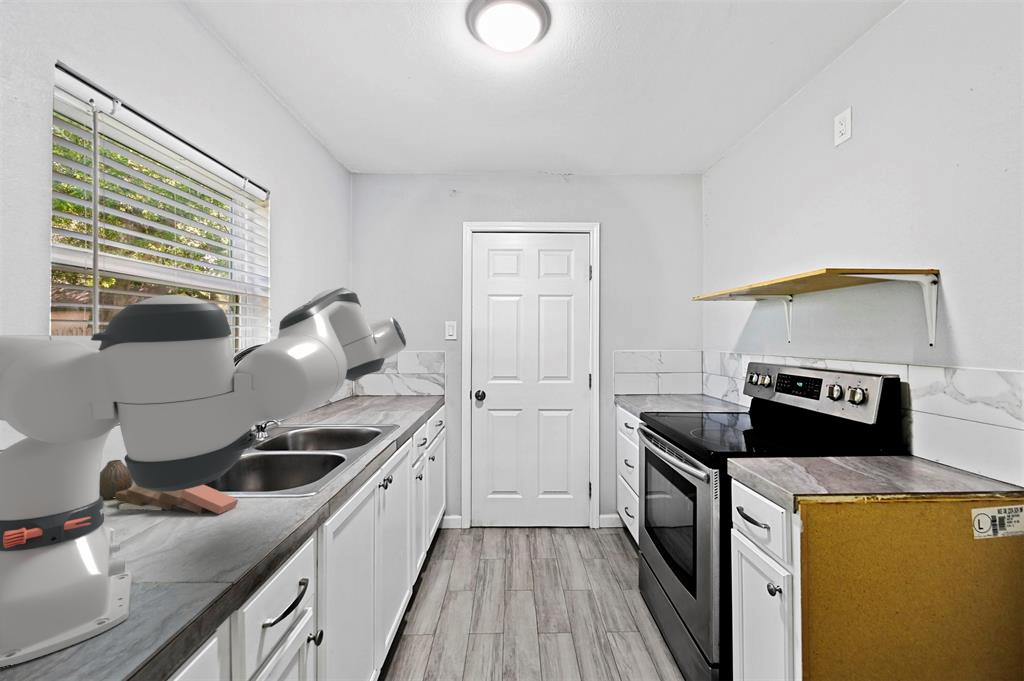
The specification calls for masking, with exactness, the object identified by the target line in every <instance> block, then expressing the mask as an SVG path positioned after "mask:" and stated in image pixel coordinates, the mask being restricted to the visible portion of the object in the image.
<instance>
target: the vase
mask: <svg viewBox="0 0 1024 681" xmlns="http://www.w3.org/2000/svg"><path fill="white" fill-rule="evenodd" d="M133 482H134V481H133V479H132V477H131V475H130V473H129V471H128V468H127V465H126V464H125V463H124V462H122V460H121V459H114V460H109V461H108V462H107V463H106V465H105V466H104V468H103V469H102V470H100V490H99V495H100V496H102V497H103V499H104V498H113V497H116V492H120V491H124V490H128V489H129V488H131V487H132V486H133Z"/></svg>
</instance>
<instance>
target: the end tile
mask: <svg viewBox="0 0 1024 681" xmlns="http://www.w3.org/2000/svg"><path fill="white" fill-rule="evenodd" d="M181 498H183V499H185V500H188V501H190V502H192V503H194V504H197V505H199V506H201V507H204V508H206V509H208V510H207V511H211V512H213V513H215V514H216V515H221V514H222V513H225V512H227V511H230V510H232V509H234V508H236V506H237V504H238V502H239V499H238V498H235V497H233V496H231V495H229V494H227V493H224V492H222V491H219V490H217V489H215V488H212V487H210V486H208V485H206V484H204V485H201V486H197V487H194V488H191V489H186V490H183V492H182V495H181Z"/></svg>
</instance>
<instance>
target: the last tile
mask: <svg viewBox="0 0 1024 681" xmlns="http://www.w3.org/2000/svg"><path fill="white" fill-rule="evenodd" d="M118 506H119V510H127V509H139V510H140V509H141V510H140V511H146V510H145V509H154V510H153V511H163V510H164V509H163V508H160V507H157V506H154V505H151V504H148V505H145V506H139V505H134V504H130V503H126V502H123V503H121V504H119V505H118ZM142 509H144V510H142ZM155 509H156V510H155ZM162 509H163V510H162ZM139 510H138V511H139Z"/></svg>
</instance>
